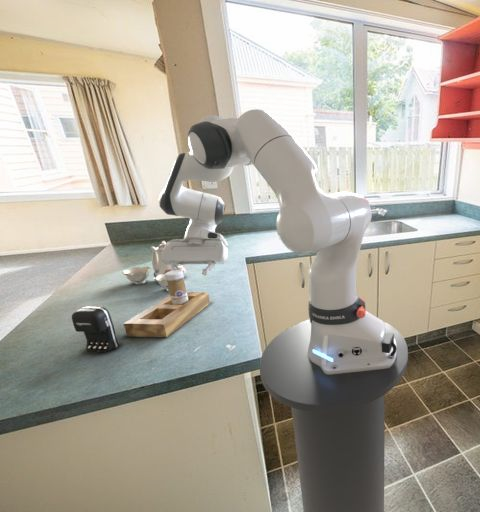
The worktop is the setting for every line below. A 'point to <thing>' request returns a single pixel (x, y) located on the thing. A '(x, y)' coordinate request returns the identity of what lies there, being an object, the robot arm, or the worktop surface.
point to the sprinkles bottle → (176, 287)
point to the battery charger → (96, 328)
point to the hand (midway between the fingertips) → (190, 275)
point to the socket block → (165, 316)
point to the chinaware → (158, 266)
